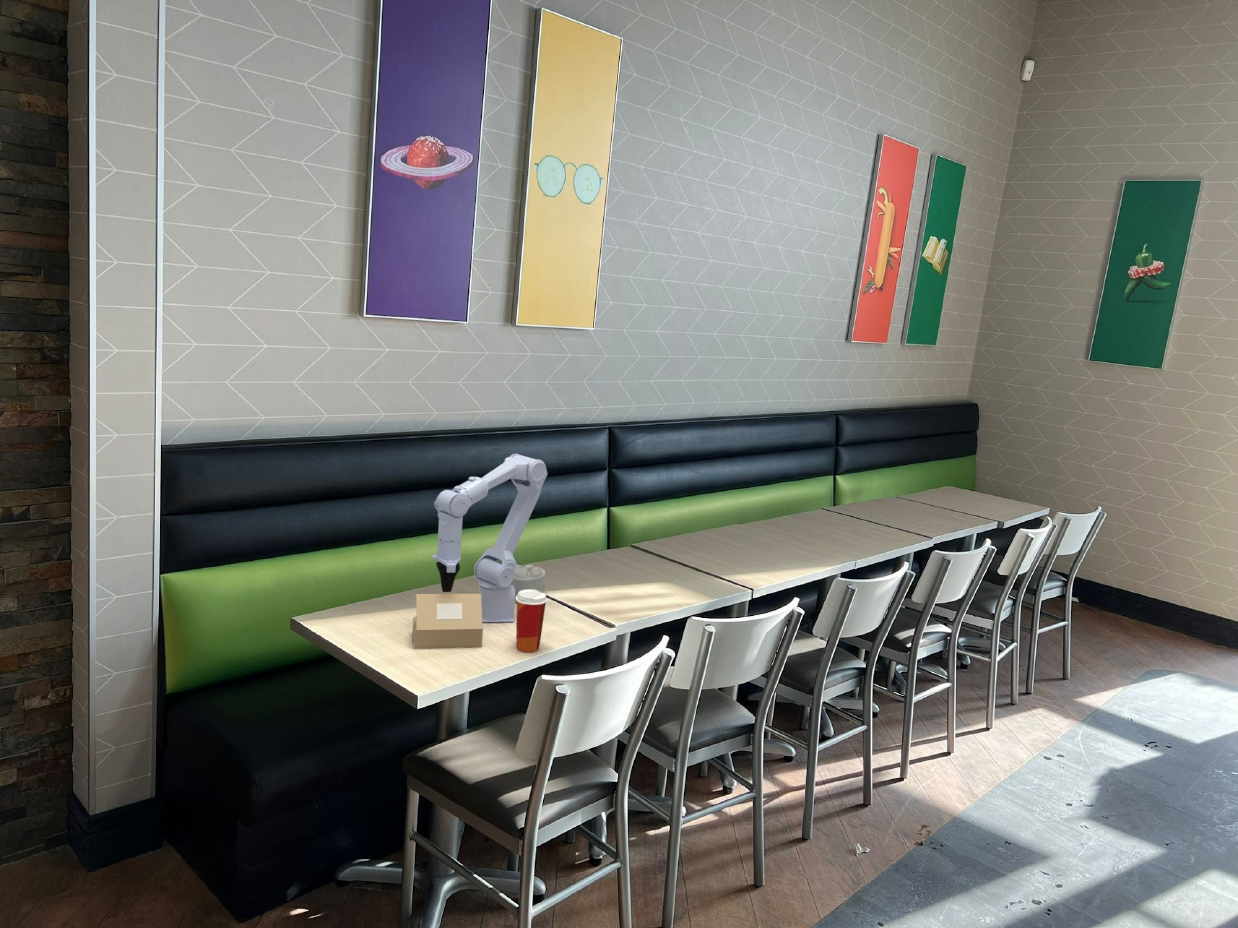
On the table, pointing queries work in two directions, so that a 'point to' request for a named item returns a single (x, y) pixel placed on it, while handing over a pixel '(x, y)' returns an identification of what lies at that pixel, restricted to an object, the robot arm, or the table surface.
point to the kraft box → (446, 638)
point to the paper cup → (529, 619)
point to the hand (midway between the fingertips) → (446, 591)
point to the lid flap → (448, 612)
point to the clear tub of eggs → (528, 579)
